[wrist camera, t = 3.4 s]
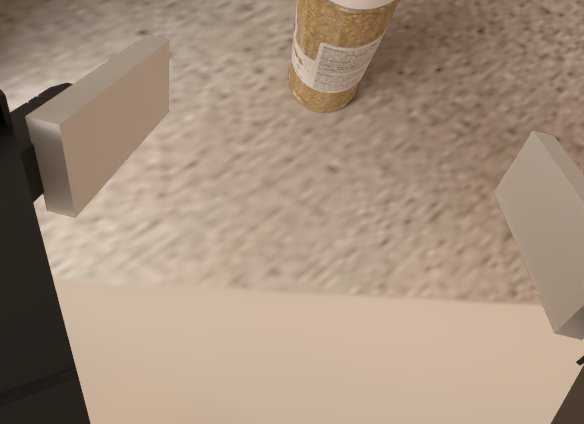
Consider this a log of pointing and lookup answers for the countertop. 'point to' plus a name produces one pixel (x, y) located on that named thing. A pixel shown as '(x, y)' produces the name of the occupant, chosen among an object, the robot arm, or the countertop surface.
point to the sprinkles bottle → (334, 48)
